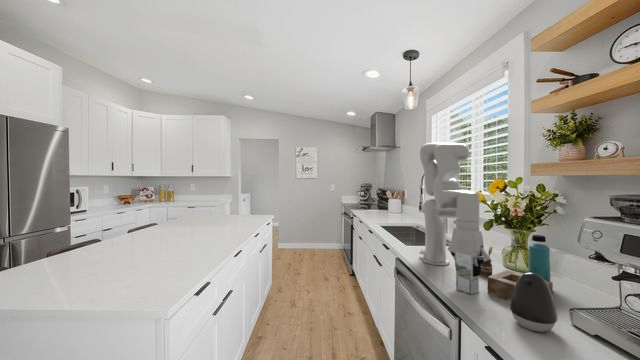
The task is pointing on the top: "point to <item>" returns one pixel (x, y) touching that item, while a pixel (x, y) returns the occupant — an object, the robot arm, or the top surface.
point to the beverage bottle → (539, 258)
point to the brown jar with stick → (486, 266)
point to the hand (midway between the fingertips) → (467, 272)
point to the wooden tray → (506, 284)
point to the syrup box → (466, 274)
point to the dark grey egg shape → (533, 303)
